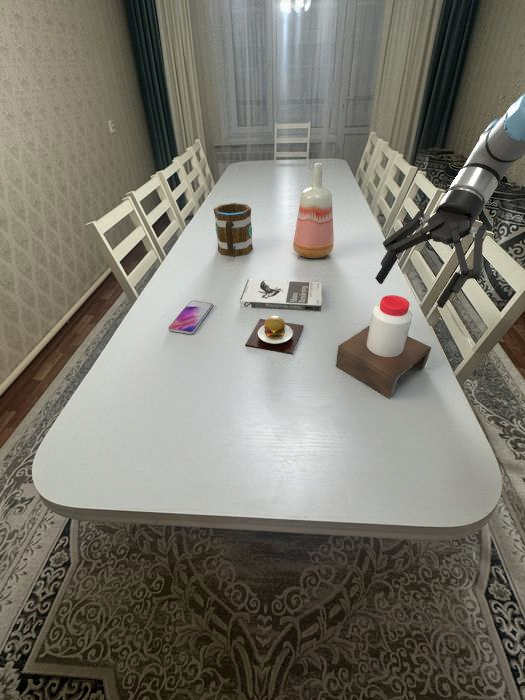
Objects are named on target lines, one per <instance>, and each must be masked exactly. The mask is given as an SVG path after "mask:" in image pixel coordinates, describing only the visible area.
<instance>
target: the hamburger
mask: <svg viewBox="0 0 525 700" xmlns="http://www.w3.org/2000/svg"><path fill="white" fill-rule="evenodd" d="M303 329H304V325H303V324H298V323H290V322H285V320H284V319H283V318H282V317H281V316H278V315H272V316H269V317H267V318H266V319H265V318H259V320H258V321H257V323H256V325H255V327H254V329H253V330H252V332H251V334H250V335H249V336H248V339H247V341H246V342H245V344H244V346H245V347H249V348H254V349H260V350H265V351H271V352H276V353H283V354H289V355H293V354H294V352H295V349H296V347H297V345H298V341H299V339H300V336H301V334H302V331H303Z"/></svg>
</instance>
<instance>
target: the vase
mask: <svg viewBox="0 0 525 700" xmlns="http://www.w3.org/2000/svg"><path fill="white" fill-rule="evenodd" d="M296 217H297V218H296V222H295V229H294V236H293V242H292V246H293V250H294V252H295V253H296V254H297V255H299V256H301V257H302V258H306V259H319V258H324V257H326V256H328V255H330V254H331V253H332V251H333V250H334V246H335V233H334V231H335V230H334V212H333V195H332V192H331V191H330V190H329V189H327V188H325V187H323V163H322V162H315V163H314V164H313V175H312V185H311V187H308V188H305V189H304V190H303V191H302V192H301V195H300V199H299V205H298V211H297V216H296Z"/></svg>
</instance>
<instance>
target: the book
mask: <svg viewBox="0 0 525 700" xmlns="http://www.w3.org/2000/svg"><path fill="white" fill-rule="evenodd" d="M322 290H323V282H322V281H307V280H287V279H266V278H265V279H264V278H248V279H247V281H246V283H245V286H244V289H243V291H242V294H241V296H240V299H239V308H249V309H250V308H251V309H266V310H267V309H268V310H283V311H285V310H286V311H301V312H302V311H303V312H304V311H305V312H318V313H319V312H320V313H321V312H322V293H323V291H322Z"/></svg>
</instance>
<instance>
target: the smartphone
mask: <svg viewBox="0 0 525 700" xmlns="http://www.w3.org/2000/svg"><path fill="white" fill-rule="evenodd" d="M213 307H214V304H213V303H211V302H206V301H199V300H190V301H189V302H188V303H187V305H186V306H185V307H184V308H183V309H182V310H181V311H180V313H179V314H178V315H177V316H176V318H175V319H174V320H173V321H172V322H171V324H170V325H169V326H168V327H167V329H168V331H170V332H173V333H175V332H176V333H180V334H187V335H193V334H194V333H195V332H196V331H197V329H198V328H199V326H200V325H201V324H202V322H203V321H204V320H205V318H206V317H207V316H208V314H209V313H210V311H211V310H212V308H213Z"/></svg>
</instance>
